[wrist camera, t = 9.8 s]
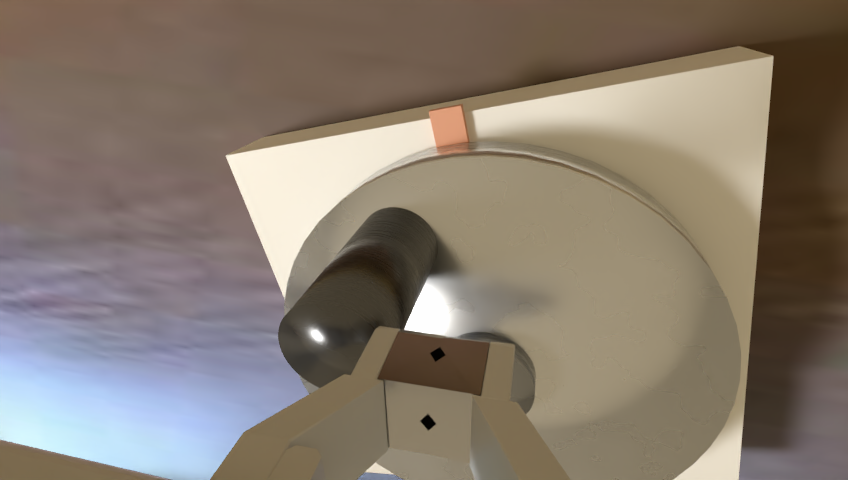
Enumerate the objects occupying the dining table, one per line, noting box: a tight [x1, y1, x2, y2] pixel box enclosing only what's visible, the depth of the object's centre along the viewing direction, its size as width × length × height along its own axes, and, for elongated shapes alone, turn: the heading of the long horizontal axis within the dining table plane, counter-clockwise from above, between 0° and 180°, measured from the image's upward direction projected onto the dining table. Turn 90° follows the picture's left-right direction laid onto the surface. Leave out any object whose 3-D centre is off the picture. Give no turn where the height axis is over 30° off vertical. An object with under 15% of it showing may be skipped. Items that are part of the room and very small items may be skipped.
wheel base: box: [226, 46, 774, 480], centre depth 22 cm, size 20×20×3 cm
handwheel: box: [278, 141, 741, 480], centre depth 17 cm, size 18×18×8 cm
